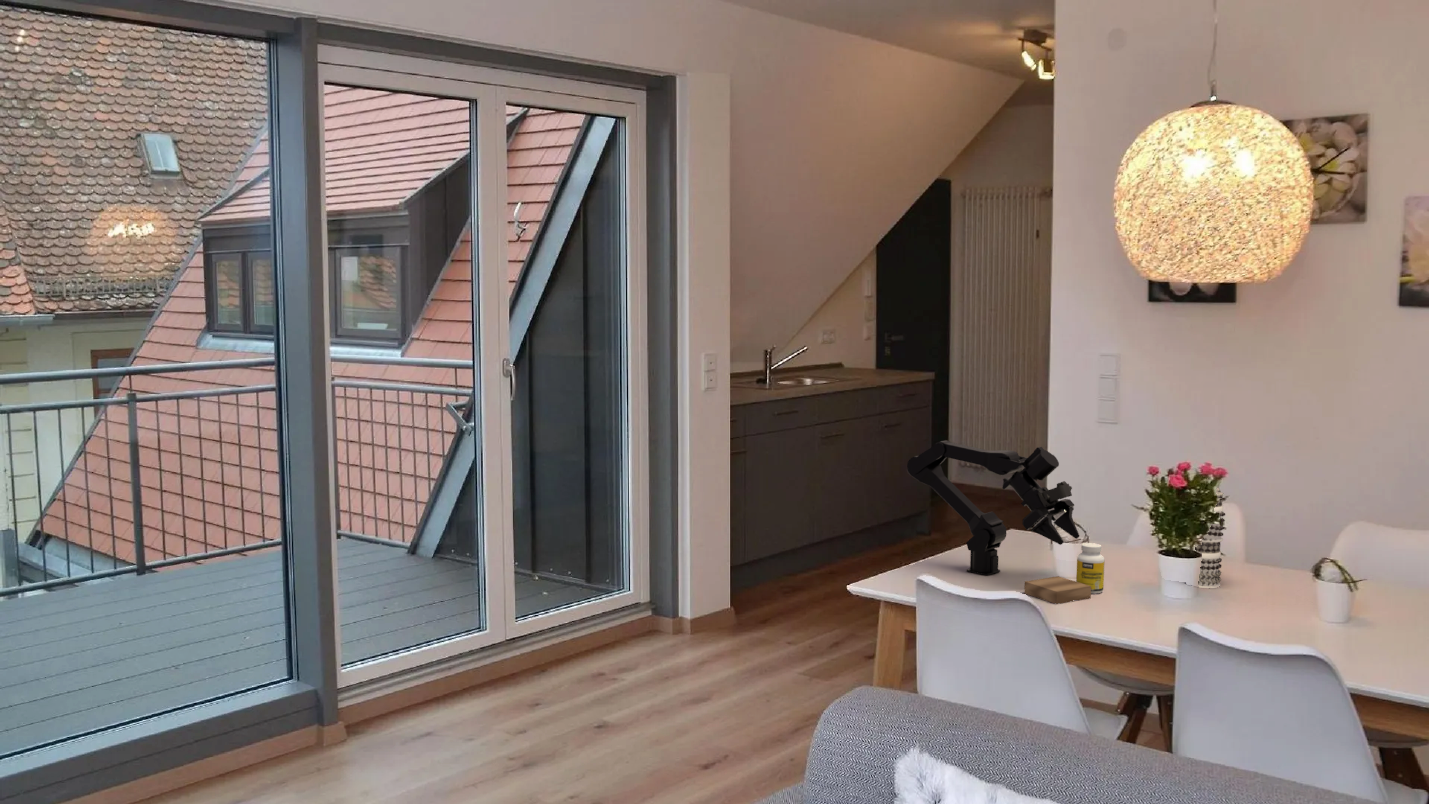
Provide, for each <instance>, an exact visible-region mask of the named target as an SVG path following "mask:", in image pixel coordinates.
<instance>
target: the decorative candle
mask: <svg viewBox="0 0 1429 804" xmlns="http://www.w3.org/2000/svg"><path fill="white" fill-rule="evenodd" d="M1216 487H1217V489H1216V494H1217V497H1218V498H1223V497H1224V495H1225V494H1224V492H1223V491H1221V489H1220V488H1219V487H1218V486H1216ZM1223 510H1224V505H1223V499H1222V500H1220V501H1219V502H1218V503H1217V505H1216V507H1215V508H1214V511H1216V512H1217V513H1220V519H1221V523H1224V522H1225V521H1226V520H1225V518H1224V517H1225V516H1226V513H1225V512H1224V511H1223ZM1224 530H1225V527H1224V526H1223V525H1222V526H1220V525H1219V524H1211V527H1210V529H1209V532H1208V535H1207V536H1205V537H1204V539H1202V545H1198V546H1197V547H1195V550H1196V551H1198V552H1200V553H1202V561H1201V567H1200V574H1199V581H1198V586H1199V588H1198V589H1209V588H1210V589H1217V587H1218V588H1220V587H1221V586H1220V585H1221V583H1220V582H1221V580H1222V577H1221V576H1222V571H1221V570H1220V569H1222V564H1221V562H1222V561H1223V560H1222V558H1221V557H1222V551H1221V542H1222V541H1223V540H1224V539H1223V536H1224V533H1223V532H1222V531H1224ZM1219 586H1220V587H1219Z"/></svg>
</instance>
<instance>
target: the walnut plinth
mask: <svg viewBox="0 0 1429 804" xmlns="http://www.w3.org/2000/svg"><path fill="white" fill-rule="evenodd" d="M1023 586H1024V588H1023V589H1024V594H1025V595H1028V596H1031V597H1034V598H1037V599H1039V600H1043V601H1046V602H1049V603H1051V604H1052V603H1053V604H1055V603H1056V604H1055V605H1059V604H1058V603H1060V604H1067V603H1071V602H1070V601H1072V602H1074V601H1073V600H1078V601H1082V600H1083V601H1085V600H1088V599H1089V598H1090V599H1091V597H1092V594H1091V586H1089V585H1085V584H1082V583H1079V582H1076V580H1071V579H1068V578H1065V577H1062V576H1050V577H1044V578H1039V579H1038V578H1037V579H1032V580H1026V581H1024V585H1023Z"/></svg>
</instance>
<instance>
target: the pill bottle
mask: <svg viewBox="0 0 1429 804" xmlns="http://www.w3.org/2000/svg"><path fill="white" fill-rule="evenodd" d="M1080 550H1081V551H1082V552H1081V553H1079V554H1077V556H1076V578H1075V582H1079V583H1082V584H1085V585H1089V586H1091V595H1092V594H1093V595H1094V594H1095V595H1097V594H1100V593H1101V594H1102V593H1103V591H1104V583H1105V582H1104V581H1105V556H1103V555H1102V554H1101V552H1102V545H1101V544H1099V543H1094V542H1085V543H1081V548H1080Z"/></svg>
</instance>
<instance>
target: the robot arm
mask: <svg viewBox="0 0 1429 804" xmlns="http://www.w3.org/2000/svg"><path fill="white" fill-rule="evenodd" d="M947 458H948V459H952V460H958V461H961V462H965V463H969V464H975V465H978V466H981V467H983V468H985V469H986V470H987V471H990V472H991V473H994V474H996V475H999V476H1001V475H1002V476H1006V475H1009V474H1012V473H1013V474H1012V475H1011V476H1010V477H1004V478H1003V479H1002V481H1003V483H1002V490H1006V489H1010V488H1012V489H1013V490H1014V492H1015V493H1016V494H1017V495H1018V497H1019V498H1020V499H1021V500H1022V501H1021V503H1020V504H1021V505H1022V506H1023V507H1026V506H1027V508H1028V510H1029V513H1028V514H1027V515H1025V517H1023V518H1022V520H1021V521H1022V526H1023V528H1025V530H1026V531H1029V530H1030V532H1034V533H1036V534H1038V535H1040V536H1042V537H1044V538H1046V539H1049V540H1050V541H1052V542H1054V543H1056V544H1058V545H1059V546H1061V545H1063V544H1064V540H1063V539H1062V537H1061V535H1060V534H1059V532H1058V530H1057V529H1056V527H1055V526H1057V527H1058V528H1060V529H1061V530H1063V532H1065V533H1066V534H1068V535H1069V536H1072V537H1073V539H1078V538H1080V533H1079V531H1078V529H1077V526H1076V524H1075V521H1074V519H1073V513H1074V512H1073V511H1074V509H1075V504H1074V502H1073V501H1072V500H1071V499H1070V498H1069V497H1072V496H1073V494H1072V492H1071V491H1072V490H1073V487H1072V486H1071V485H1070V484H1069V483H1067V482H1066V481H1065V480H1063V481H1061V482H1058V483H1056V487H1053V488H1050V489H1048V487H1046V486H1043V487H1042V486H1041V485H1040V484H1039V483H1038V482H1037V481H1044V480H1045V479H1046V478H1047V477H1048V476H1049V475H1050V474H1052V473H1053V472H1054V471H1055V470H1056V469H1057V468H1058V467H1059V466H1060V462H1059V461H1058V459H1057V457H1056V456H1055V454H1052V453H1051V452H1050V451H1048V450H1046V449H1044V447H1043V446H1038V447H1036V448H1035V449H1034V450H1033V452H1032V453H1031V454H1030V455H1029V456H1028V457H1026V456H1021V455H1019V453H1018V452H1017V451H1015V450H1010V449H1009V450H1008V449H1006V450H1005V449H1003V450H1002V449H998V450H996V449H995V450H988V449H983V448H978V447H974V446H969V445H966V444H960V443H956V442H952V441H949V440H941V441H938V442H936V443H934V444H933V445H932V446H931V447H930V448H928V449H926V450H925V451H924V452H922V453H920V454H919V455H915V456H912V457H910V459H908V461H907V464H906V467H907V469H906V471H907V474H909V476H911V477H912V478H913V479H915V480H916V481H918V482H919V483H920V484H921V483H922V484H923V485H926V486H928V487H930V488H931V489H932V490H933V491H934V492H935V493H936V494H937V495H938V496H940V498H942V499H943V501H945V503H947V504H948V505H949V507H951V508H952V509H953V510H954V511H955V512H956V513H957V514H958V515H959V516H960V517H961V518H962V519H963V520H964V521H965V522H966V523H967V524H968V528H969V530H970V534H971V535H972V536H971V538H969V539H968V540H967V541H966V547H967V550H968V551H970V555H969V556H970V557H969V559H970V560H969V561H970V563H969V564H970V565H969V568H967V569H966V572H967V573H968V572H969V573H973V574H976V575H977V574H978V575H981V576H990V575H993V574H996V573H997V574H998V573H999V572H1000V573H1001V569H999V555H998V549H997V548H1000V547H1001V544H1002V542H1003V541H1005V539H1006V538H1007V535H1008V534H1007V527H1006V526H1005V524H1004V522H1005V521H1004V520H1002V519H1000V518H999V516H997V514H996V512H994V511H989V512H983V511H981V509H979V508H978V507H977V505H975V504H974V503H973V502H972V501H971V500H970V499H969V497H967V496H966V495H965V494H964V493H963V492H962V491H961V489H959V488H958V487H957V486H956V485H955V484H954V483H952V481H950V479H948V478H947V477H946V475H945V473H944V471H943V468H942V466H941V464H942V463H943V462H944V461H945V460H946V459H947ZM1019 469H1021V470H1020V471H1019ZM1067 497H1068V498H1069V499H1068V498H1067ZM1054 525H1055V526H1054Z"/></svg>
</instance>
